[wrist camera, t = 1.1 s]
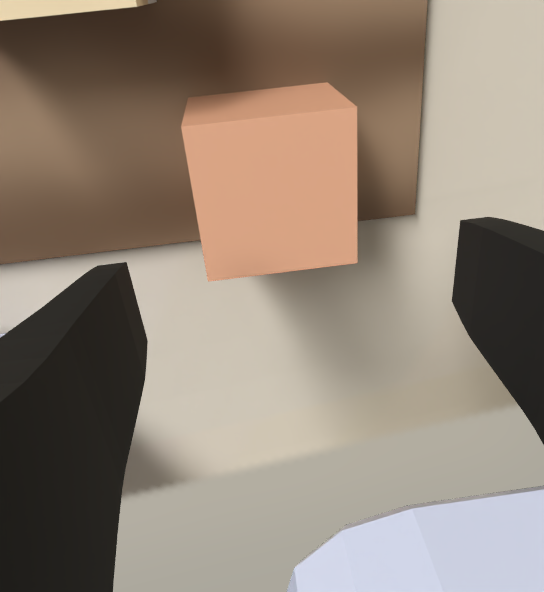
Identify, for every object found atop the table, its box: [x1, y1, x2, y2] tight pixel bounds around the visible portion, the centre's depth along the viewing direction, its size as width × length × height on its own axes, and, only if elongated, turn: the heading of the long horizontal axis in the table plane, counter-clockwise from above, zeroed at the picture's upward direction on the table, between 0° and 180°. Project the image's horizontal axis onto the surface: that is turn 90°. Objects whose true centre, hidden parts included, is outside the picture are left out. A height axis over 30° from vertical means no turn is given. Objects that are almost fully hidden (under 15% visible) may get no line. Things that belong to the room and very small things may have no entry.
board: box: [0, 0, 428, 264], centre depth 17 cm, size 15×20×1 cm
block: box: [181, 82, 357, 281], centre depth 18 cm, size 5×5×4 cm
